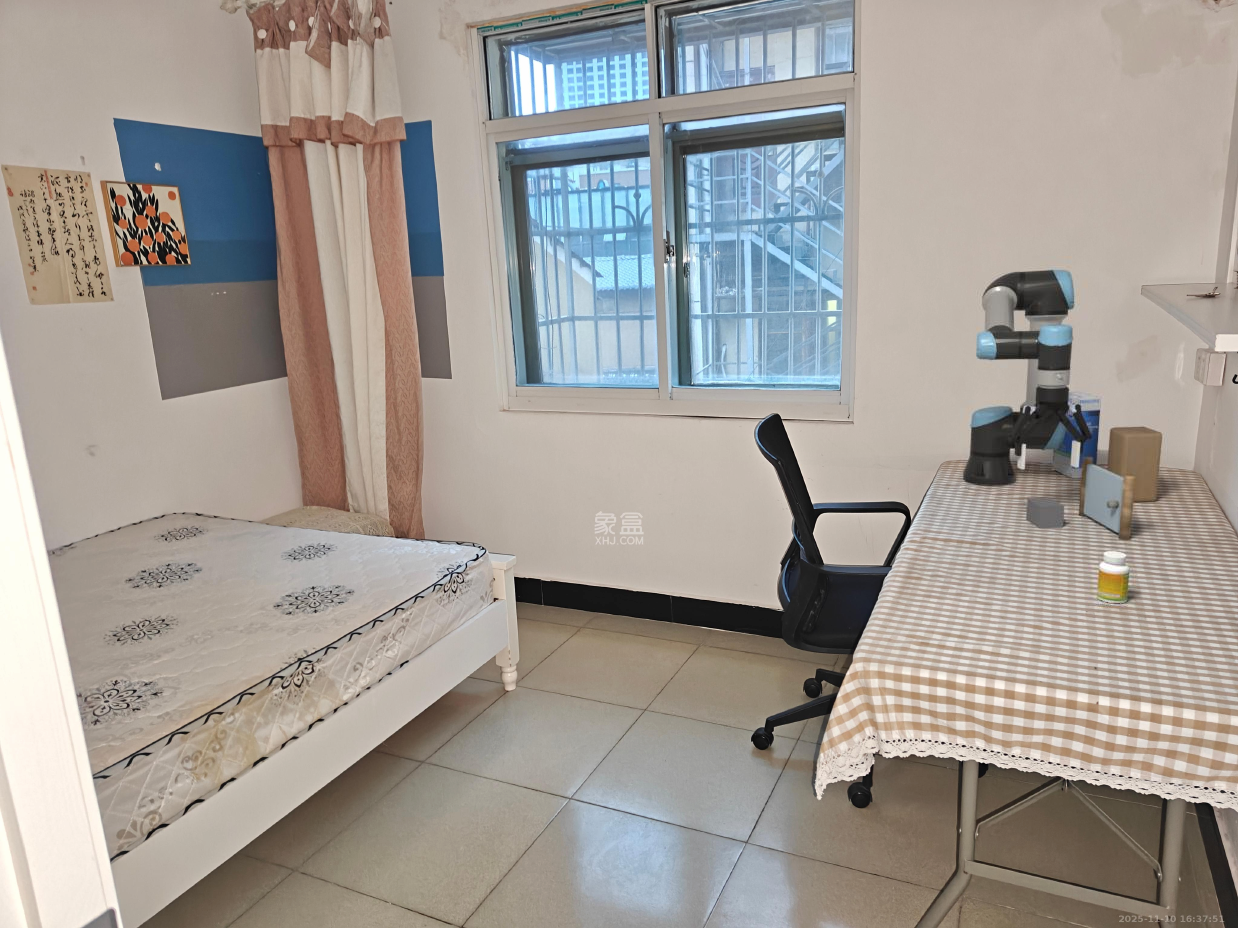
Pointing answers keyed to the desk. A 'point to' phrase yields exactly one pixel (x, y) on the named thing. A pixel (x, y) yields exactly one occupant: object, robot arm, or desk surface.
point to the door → (1103, 496)
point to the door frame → (1126, 500)
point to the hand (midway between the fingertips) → (1047, 467)
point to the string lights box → (1091, 417)
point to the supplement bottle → (1113, 578)
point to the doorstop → (1045, 513)
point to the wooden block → (1136, 458)
